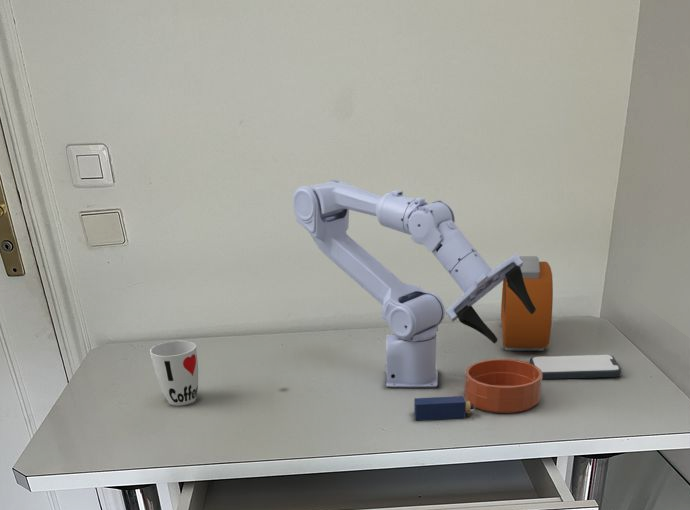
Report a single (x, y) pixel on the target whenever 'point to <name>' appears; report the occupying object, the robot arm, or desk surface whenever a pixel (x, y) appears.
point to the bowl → (503, 385)
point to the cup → (176, 370)
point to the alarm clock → (517, 320)
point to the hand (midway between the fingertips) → (514, 326)
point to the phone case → (577, 366)
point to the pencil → (441, 408)
